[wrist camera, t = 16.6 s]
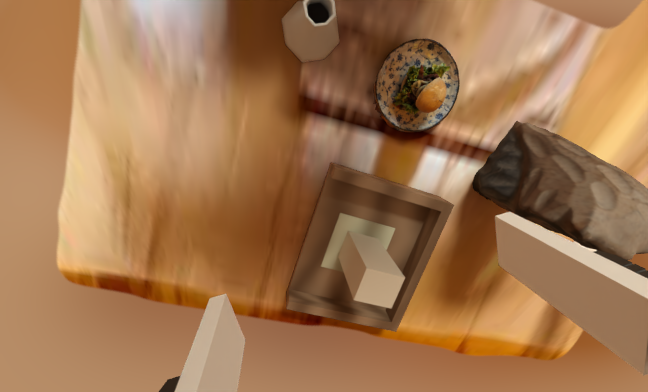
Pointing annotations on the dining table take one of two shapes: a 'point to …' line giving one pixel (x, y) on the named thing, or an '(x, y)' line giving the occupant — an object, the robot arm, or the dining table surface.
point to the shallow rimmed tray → (371, 220)
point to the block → (370, 270)
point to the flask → (311, 29)
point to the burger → (416, 86)
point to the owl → (566, 191)
